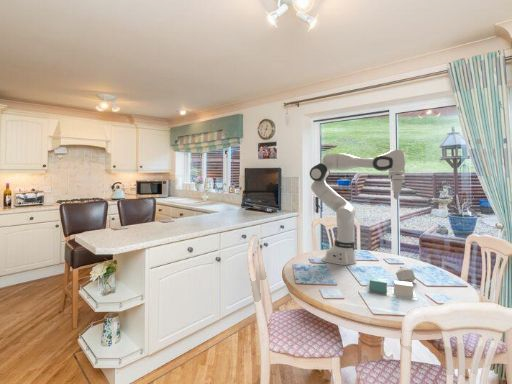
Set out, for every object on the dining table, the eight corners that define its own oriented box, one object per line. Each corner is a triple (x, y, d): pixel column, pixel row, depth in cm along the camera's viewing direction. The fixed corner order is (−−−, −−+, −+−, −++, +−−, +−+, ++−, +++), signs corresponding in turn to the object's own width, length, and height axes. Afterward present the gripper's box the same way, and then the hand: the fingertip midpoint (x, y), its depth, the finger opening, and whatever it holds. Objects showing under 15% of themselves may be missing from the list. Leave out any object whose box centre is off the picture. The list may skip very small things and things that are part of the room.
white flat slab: (367, 294, 136) (367, 292, 136) (367, 284, 148) (367, 282, 148) (417, 302, 128) (417, 300, 127) (414, 291, 139) (414, 289, 139)
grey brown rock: (402, 288, 145) (416, 274, 143) (389, 275, 152) (402, 262, 149) (408, 289, 151) (421, 276, 148) (395, 276, 157) (408, 264, 155)
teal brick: (369, 289, 140) (369, 280, 139) (369, 286, 144) (369, 276, 144) (386, 292, 136) (386, 282, 136) (386, 288, 141) (386, 279, 141)
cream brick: (394, 293, 135) (394, 283, 135) (393, 289, 140) (394, 280, 139) (413, 296, 132) (413, 286, 131) (411, 292, 136) (412, 282, 136)
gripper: (389, 175, 178) (389, 197, 179) (392, 176, 159) (391, 200, 160) (400, 176, 176) (400, 197, 177) (404, 176, 157) (403, 200, 158)
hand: (395, 198), depth 168 cm, fingers open, 8 cm apart
